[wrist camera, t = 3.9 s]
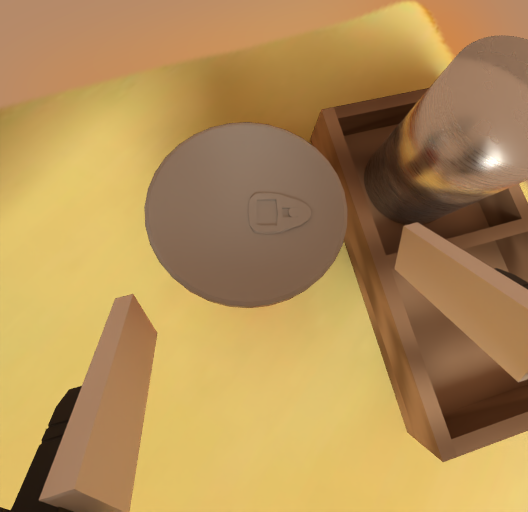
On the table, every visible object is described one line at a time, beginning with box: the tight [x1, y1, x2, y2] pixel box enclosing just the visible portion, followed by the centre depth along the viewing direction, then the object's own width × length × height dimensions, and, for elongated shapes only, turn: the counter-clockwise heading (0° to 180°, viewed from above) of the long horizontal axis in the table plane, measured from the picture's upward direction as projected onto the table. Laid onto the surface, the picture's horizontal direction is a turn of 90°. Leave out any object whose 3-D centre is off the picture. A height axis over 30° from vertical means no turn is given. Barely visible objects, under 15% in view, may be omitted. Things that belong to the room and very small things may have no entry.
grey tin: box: [364, 36, 528, 225], centre depth 17 cm, size 8×8×9 cm
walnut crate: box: [311, 88, 528, 462], centre depth 20 cm, size 25×13×4 cm, turn 15°
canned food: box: [145, 122, 348, 308], centre depth 15 cm, size 8×8×11 cm
